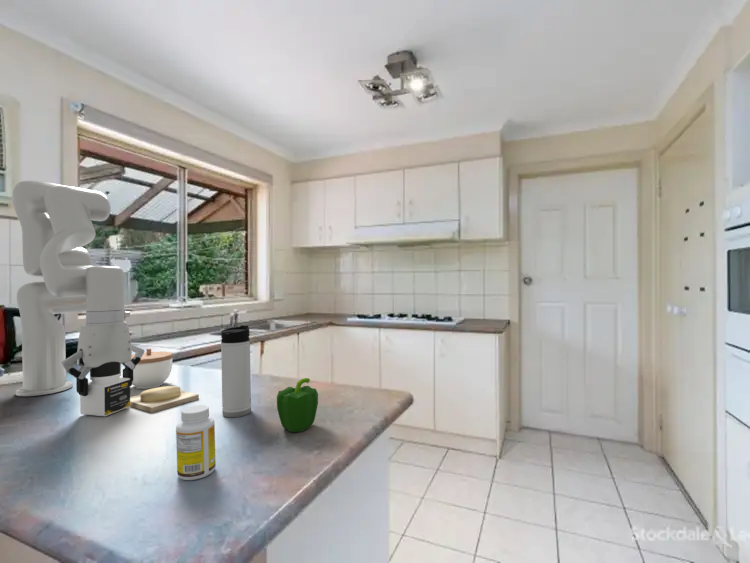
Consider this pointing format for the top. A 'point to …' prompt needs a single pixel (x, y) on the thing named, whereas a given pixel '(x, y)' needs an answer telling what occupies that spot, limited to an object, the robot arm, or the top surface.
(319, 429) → the top surface
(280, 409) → the bell pepper
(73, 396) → the top surface
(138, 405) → the board
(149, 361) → the lidded bowl
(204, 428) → the supplement bottle
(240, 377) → the travel mug
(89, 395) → the medicine bottle
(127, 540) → the top surface
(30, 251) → the robot arm
